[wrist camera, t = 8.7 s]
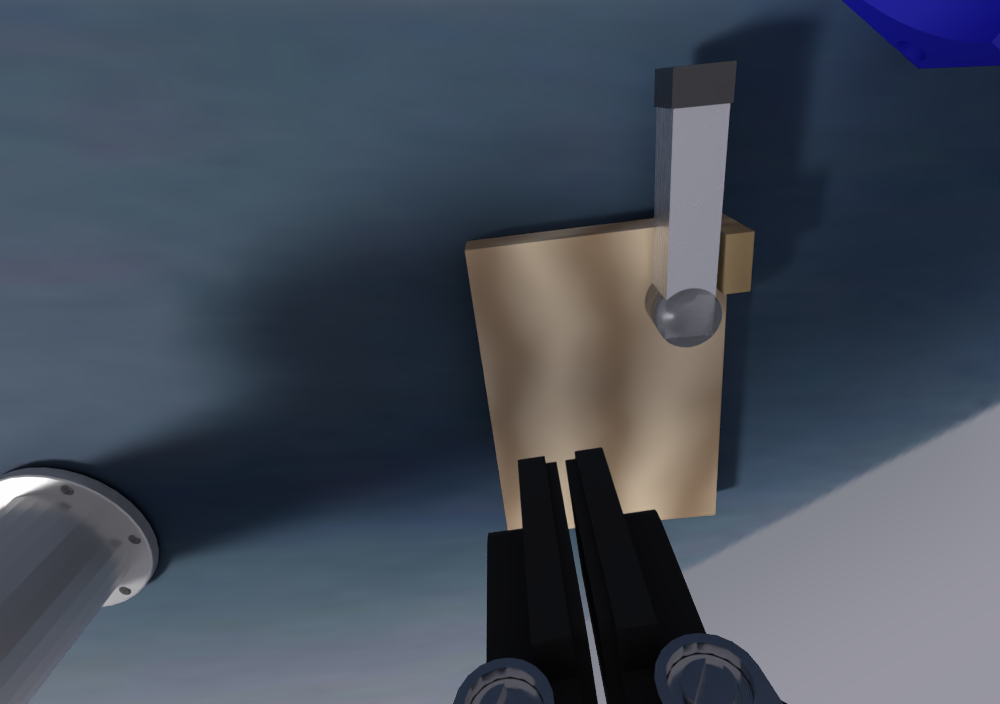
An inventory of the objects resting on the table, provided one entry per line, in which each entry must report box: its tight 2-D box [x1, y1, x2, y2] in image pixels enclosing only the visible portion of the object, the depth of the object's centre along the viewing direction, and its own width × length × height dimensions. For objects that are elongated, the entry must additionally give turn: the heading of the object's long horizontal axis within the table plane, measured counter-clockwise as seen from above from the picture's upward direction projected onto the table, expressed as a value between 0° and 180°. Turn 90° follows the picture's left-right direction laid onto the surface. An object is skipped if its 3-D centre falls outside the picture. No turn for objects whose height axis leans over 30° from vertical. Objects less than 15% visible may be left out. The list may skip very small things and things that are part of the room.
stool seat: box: [465, 213, 755, 530], centre depth 33 cm, size 14×20×5 cm
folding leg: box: [645, 60, 737, 347], centre depth 27 cm, size 13×3×3 cm, turn 5°
